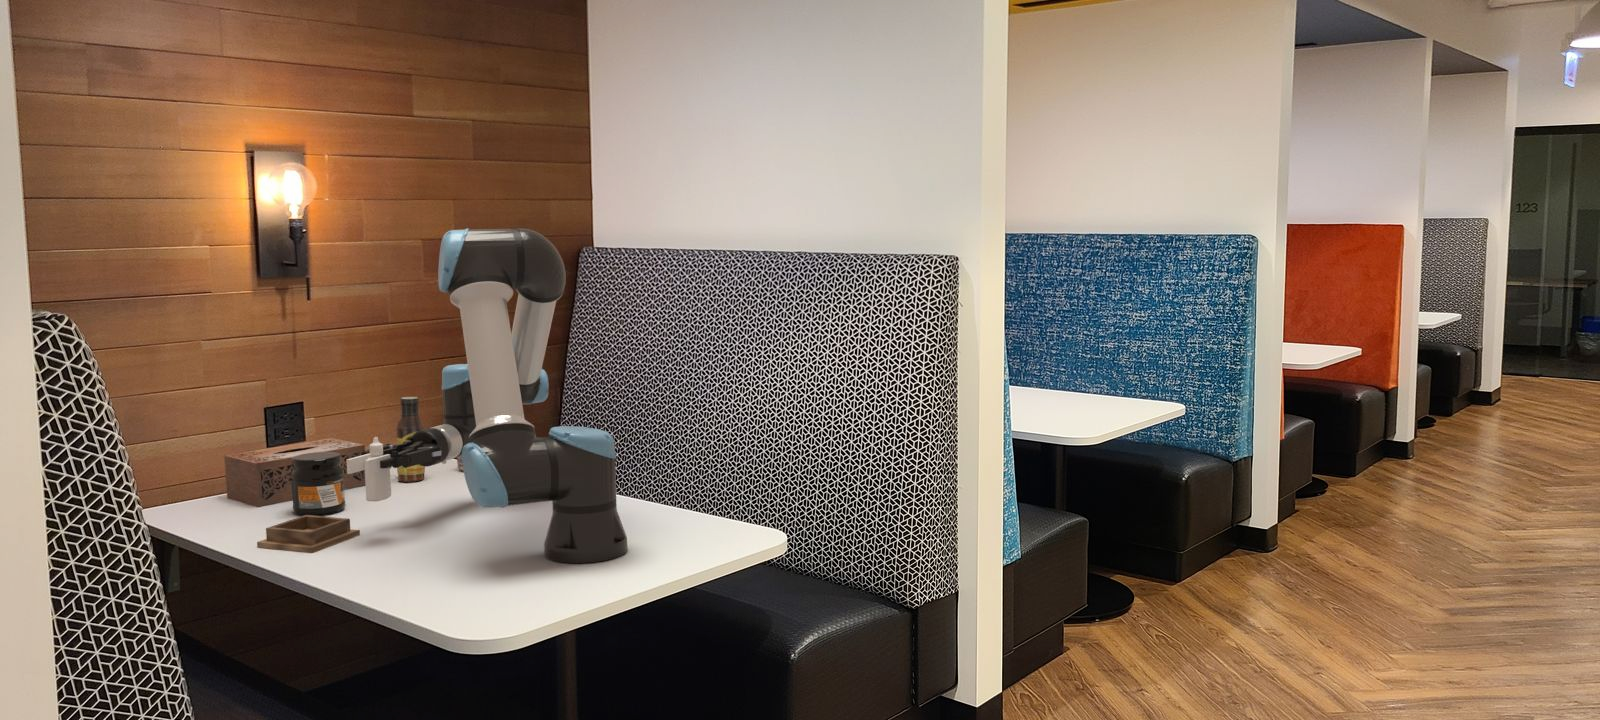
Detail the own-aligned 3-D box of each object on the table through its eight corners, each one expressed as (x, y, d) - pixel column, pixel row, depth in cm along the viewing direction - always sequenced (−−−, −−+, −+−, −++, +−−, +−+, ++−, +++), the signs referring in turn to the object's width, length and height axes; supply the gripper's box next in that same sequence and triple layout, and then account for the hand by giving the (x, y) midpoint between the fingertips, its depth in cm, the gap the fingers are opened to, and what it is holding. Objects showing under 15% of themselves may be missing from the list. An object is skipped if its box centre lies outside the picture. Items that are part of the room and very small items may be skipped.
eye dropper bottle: (359, 499, 226) (356, 438, 225) (386, 494, 230) (383, 434, 229) (371, 503, 223) (367, 440, 222) (398, 497, 227) (395, 436, 226)
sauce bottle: (409, 484, 276) (405, 400, 274) (392, 481, 279) (387, 398, 277) (431, 478, 282) (427, 396, 279) (414, 476, 285) (410, 395, 283)
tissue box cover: (259, 508, 255) (255, 463, 254) (227, 499, 264) (224, 455, 263) (367, 486, 275) (364, 444, 274) (334, 478, 284) (331, 438, 283)
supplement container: (334, 517, 246) (331, 460, 245) (284, 517, 246) (280, 461, 245) (353, 504, 257) (350, 450, 255) (305, 505, 257) (301, 451, 255)
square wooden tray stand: (359, 535, 231) (358, 517, 231) (312, 552, 219) (311, 534, 219) (306, 530, 236) (305, 513, 235) (257, 547, 223) (256, 529, 223)
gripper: (469, 465, 240) (395, 489, 218) (402, 461, 246) (323, 484, 224) (467, 429, 240) (392, 449, 218) (400, 426, 245) (320, 445, 223)
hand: (357, 467), depth 221 cm, fingers closed on eye dropper bottle, 3 cm apart
